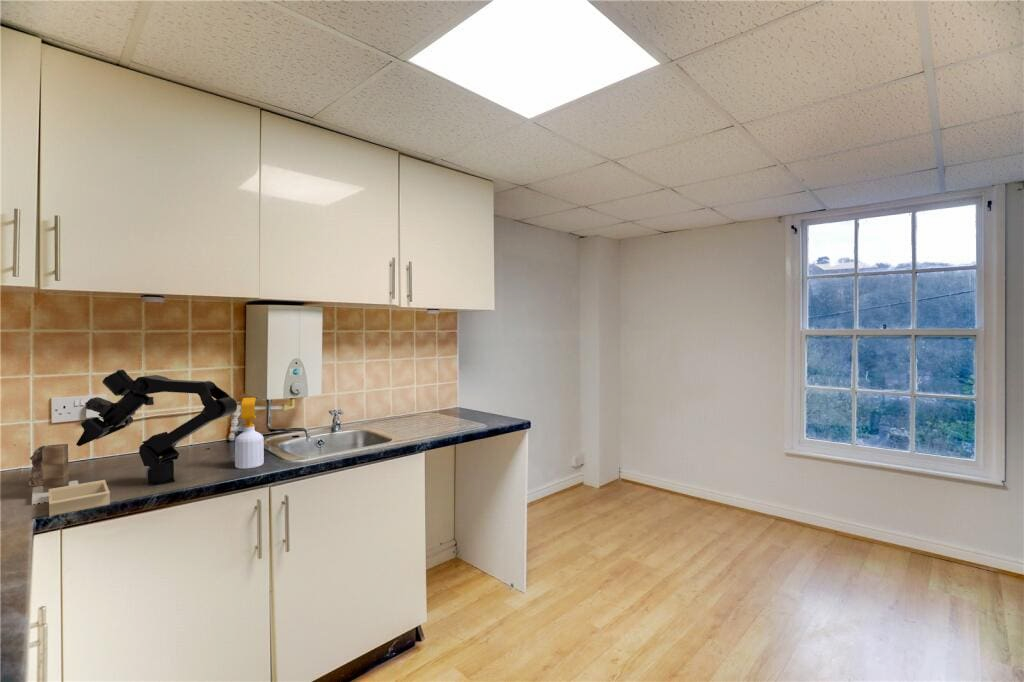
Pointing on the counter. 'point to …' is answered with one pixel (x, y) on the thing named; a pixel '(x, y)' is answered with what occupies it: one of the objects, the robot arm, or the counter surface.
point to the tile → (44, 494)
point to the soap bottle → (249, 440)
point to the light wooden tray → (78, 497)
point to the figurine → (37, 468)
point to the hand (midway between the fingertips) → (86, 441)
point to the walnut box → (55, 466)
